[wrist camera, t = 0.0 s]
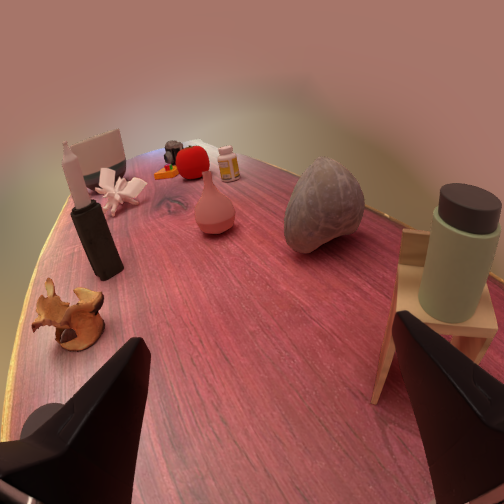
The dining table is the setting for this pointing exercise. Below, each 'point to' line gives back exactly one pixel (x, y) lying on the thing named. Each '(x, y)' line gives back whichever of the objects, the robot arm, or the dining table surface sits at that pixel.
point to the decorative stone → (322, 206)
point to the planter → (100, 157)
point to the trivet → (39, 418)
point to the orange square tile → (166, 172)
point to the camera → (172, 151)
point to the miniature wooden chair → (406, 298)
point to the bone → (72, 316)
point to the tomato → (192, 162)
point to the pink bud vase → (213, 208)
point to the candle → (90, 222)
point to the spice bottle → (459, 252)
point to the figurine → (118, 189)
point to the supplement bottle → (228, 164)
